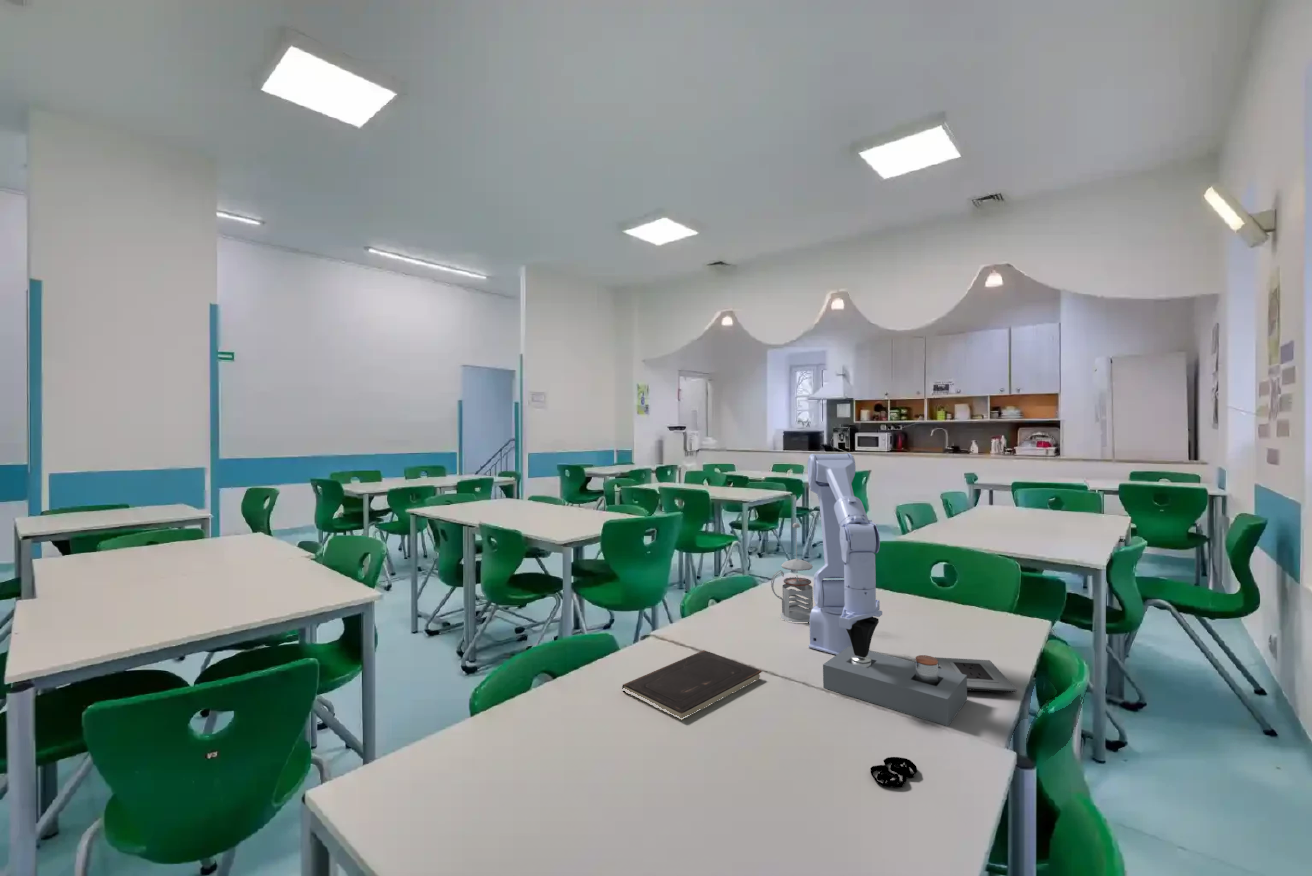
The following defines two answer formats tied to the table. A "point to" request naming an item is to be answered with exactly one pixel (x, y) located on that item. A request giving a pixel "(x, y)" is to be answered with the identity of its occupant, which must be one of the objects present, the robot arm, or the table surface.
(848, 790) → the table surface
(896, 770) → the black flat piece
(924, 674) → the copper-capped canister
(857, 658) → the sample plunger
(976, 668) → the electrical outlet
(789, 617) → the french press
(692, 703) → the hardcover book
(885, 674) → the console
